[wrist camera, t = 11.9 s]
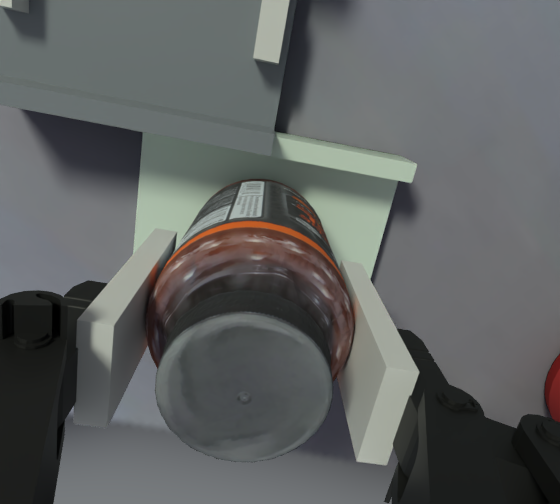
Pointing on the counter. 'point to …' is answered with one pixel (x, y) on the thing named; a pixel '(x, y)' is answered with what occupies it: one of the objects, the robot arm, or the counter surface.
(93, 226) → the counter surface
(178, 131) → the checker cradle
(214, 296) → the supplement bottle
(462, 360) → the counter surface
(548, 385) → the canned food
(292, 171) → the trough
